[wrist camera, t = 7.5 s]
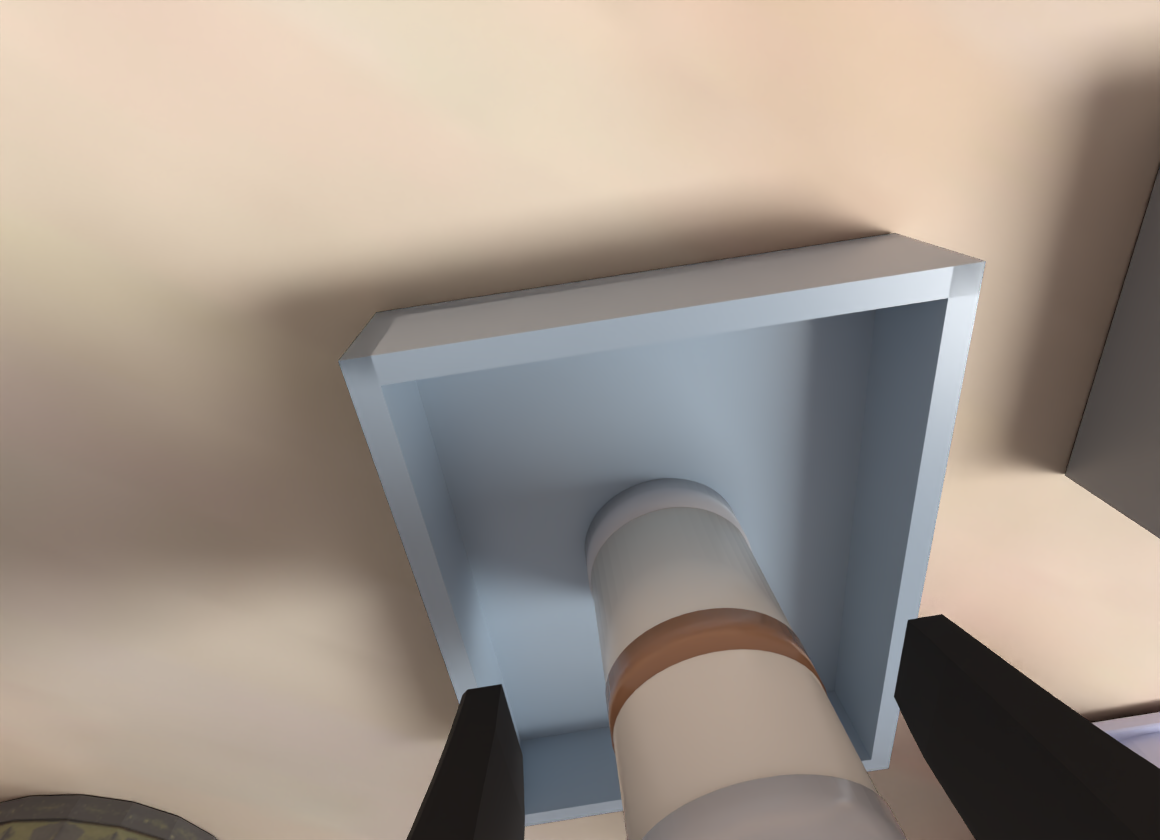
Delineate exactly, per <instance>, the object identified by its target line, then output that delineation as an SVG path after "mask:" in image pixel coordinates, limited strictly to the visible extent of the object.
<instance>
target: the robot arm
mask: <svg viewBox="0 0 1160 840" xmlns="http://www.w3.org/2000/svg"><path fill="white" fill-rule="evenodd" d="M894 698H895V700H896V702H897V704H898V706H899V708H900V710H901V713H902V715H903V717H904V719H905V721H906V723H907V725H908V727H909V729H910V731H911V733H912V735H913V737H914V739H915V741H916V743H917V745H918V747H919V749H920V751H921V753H922V755H923V757H924V758H925V760H926V762H927V763H928V765H929V766H930V768H931V770H932V771H933V773H934V775H935V776H936V778H937V779H938V781H939V783H940V784H941V786H942V787H943V789H944V790H945V792H946V794H947V795H948V797H949V798H950V800H951V802H952V803H953V805H954V806H955V808H956V809H957V811H958V813H959V814H960V816H961V817H962V819H963V820H964V822H965V824H966V825H967V827H968V828H969V830H970V831H971V833H972V835H973V836H974V838H975V839H976V840H1160V712H1156V713H1149V714H1143V715H1137V716H1131V717H1124V718H1118V719H1112V720H1106V721H1099V722H1093V723H1091V722H1090V721H1088V720H1087V719H1085V718H1084V717H1083V716H1081V715H1080V714H1078V713H1077V712H1075V711H1074V710H1073V709H1071V708H1070V707H1068V706H1067V705H1065V704H1064V703H1063V702H1061V701H1060V700H1058V699H1057V698H1056V697H1054V696H1053V695H1051V694H1050V693H1049V692H1047V691H1046V690H1044V689H1043V688H1042V687H1040V686H1039V685H1037V684H1036V683H1035V682H1033V681H1032V680H1031V679H1029V678H1028V677H1026V676H1025V675H1024V674H1022V673H1021V672H1020V671H1018V670H1017V669H1016V668H1014V667H1013V666H1011V665H1010V664H1009V663H1007V662H1006V661H1005V660H1003V659H1002V658H1001V657H999V656H998V655H997V654H995V653H994V652H992V651H991V650H990V649H988V648H987V647H986V646H984V645H983V644H982V643H980V642H979V641H978V640H976V639H975V638H974V637H972V636H971V635H970V634H968V633H967V632H965V631H964V630H963V629H961V628H960V627H959V626H957V625H956V624H955V623H953V622H952V621H950V620H949V619H948V618H946V617H945V616H944V615H942V614H941V615H935V616H929V617H922V618H916V619H910V620H908V621H907V627H906V632H905V638H904V643H903V649H902V654H901V660H900V665H899V671H898V676H897V682H896V687H895V693H894ZM524 830H525V805H524V776H523V755H522V751H521V748H520V745H519V741H518V738H517V734H516V731H515V728H514V724H513V721H512V717H511V714H510V710H509V707H508V704H507V700H506V697H505V693H504V690H503V687H502V684H498V685H492V686H486V687H479V688H473V689H467V690H466V691H465V693H464V694H463V695H462V698H461V701H460V704H459V707H458V710H457V713H456V716H455V719H454V722H453V725H452V728H451V731H450V734H449V736H448V739H447V742H446V745H445V747H444V750H443V753H442V755H441V758H440V760H439V763H438V765H437V768H436V771H435V773H434V776H433V778H432V781H431V783H430V785H429V788H428V790H427V793H426V795H425V797H424V800H423V802H422V804H421V807H420V809H419V811H418V814H417V816H416V819H415V821H414V823H413V826H412V828H411V830H410V832H409V835H408V837H407V839H406V840H524Z"/></svg>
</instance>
